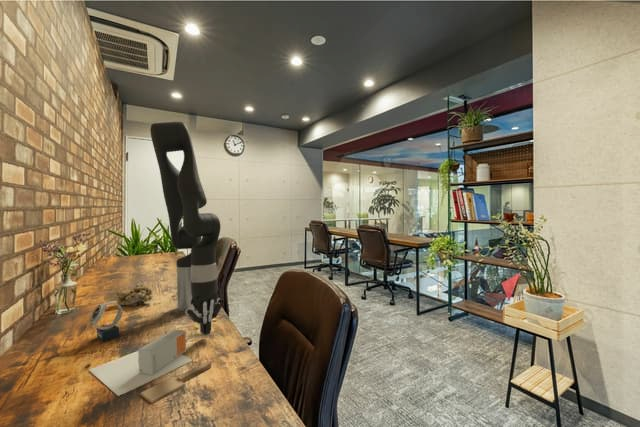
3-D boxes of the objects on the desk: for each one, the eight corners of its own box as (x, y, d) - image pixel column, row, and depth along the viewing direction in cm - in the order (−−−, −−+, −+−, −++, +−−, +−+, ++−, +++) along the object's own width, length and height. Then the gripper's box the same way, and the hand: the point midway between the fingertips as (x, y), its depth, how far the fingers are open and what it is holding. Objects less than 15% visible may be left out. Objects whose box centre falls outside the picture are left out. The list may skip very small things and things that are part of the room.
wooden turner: (203, 362, 74) (203, 359, 74) (215, 368, 71) (215, 364, 71) (141, 395, 62) (140, 391, 62) (152, 404, 59) (151, 399, 59)
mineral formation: (145, 296, 133) (162, 299, 125) (113, 310, 122) (129, 314, 114) (141, 280, 132) (158, 282, 124) (108, 292, 121) (124, 295, 113)
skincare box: (187, 351, 80) (152, 376, 69) (174, 349, 82) (138, 373, 70) (186, 329, 80) (151, 351, 69) (173, 328, 81) (137, 349, 70)
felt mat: (158, 343, 86) (158, 342, 86) (192, 360, 76) (192, 360, 76) (88, 370, 72) (88, 369, 72) (118, 396, 62) (118, 395, 62)
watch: (89, 340, 89) (87, 305, 89) (119, 331, 95) (118, 298, 95) (94, 345, 86) (93, 308, 85) (125, 335, 92) (124, 301, 92)
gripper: (215, 272, 96) (217, 324, 96) (176, 281, 85) (178, 339, 85) (229, 275, 92) (231, 329, 92) (190, 284, 81) (192, 345, 81)
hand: (205, 333), depth 89 cm, fingers closed
